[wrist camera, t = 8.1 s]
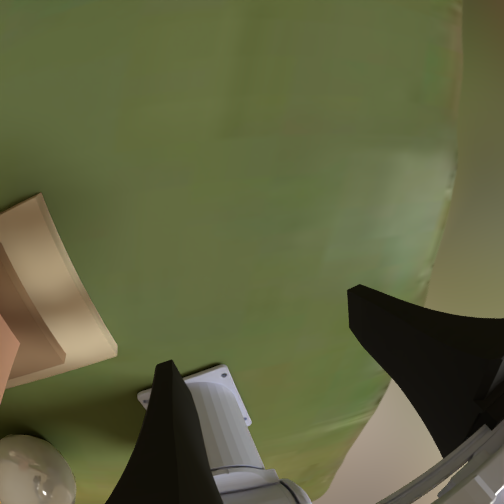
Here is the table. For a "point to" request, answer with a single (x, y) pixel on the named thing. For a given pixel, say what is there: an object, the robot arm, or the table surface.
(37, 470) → the potion bottle
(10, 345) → the block
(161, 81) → the table surface
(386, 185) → the table surface
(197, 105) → the table surface
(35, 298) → the base board
